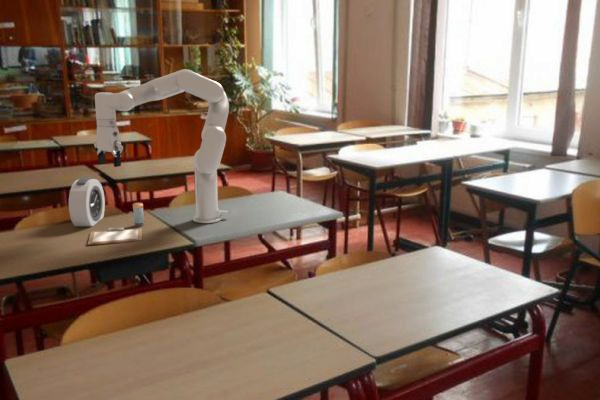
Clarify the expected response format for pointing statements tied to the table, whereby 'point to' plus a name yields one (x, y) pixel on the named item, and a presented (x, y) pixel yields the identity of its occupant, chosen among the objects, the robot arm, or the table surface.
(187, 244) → the table surface
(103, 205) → the alarm clock
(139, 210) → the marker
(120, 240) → the clipboard
